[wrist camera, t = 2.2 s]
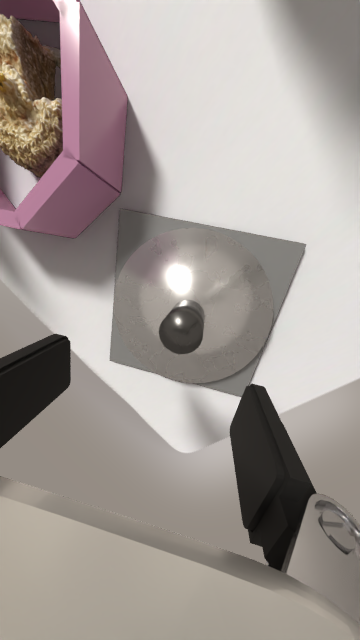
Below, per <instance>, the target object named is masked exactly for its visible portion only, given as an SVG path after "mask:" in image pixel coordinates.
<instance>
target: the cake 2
mask: <svg viewBox="0 0 360 640" xmlns="http://www.w3.org/2000/svg"><path fill="white" fill-rule="evenodd" d="M56 66H58V67H59V68H60V69H61V51H60V50H59V49H58V48H56V47H50V46H47V45H46V46H42V45H41V44H40V41H39V39H38V37H37V35H36V36H34V38H33V37H32V35H31V33H30V32H29V31H26V29H25V28H24V27H23V25H22V24H21V23H20V22H19V21H18V20H17V19H16V18H15V17H14V16H11V17H10V19H7V18H6V17H5V16H4V15H3V14H0V148H1V150H2V151H3V152H4V154H5V155H9V156H10V158H11V159H12V160H14V162H15V163H16V164H18V165H21V167H24V169H27V170H30V171H31V172H33V173H34V174H35V175H36V176H37V177H40V178H42V176H43V175H44V174H45V173H46V171H47V170H48V169H49V168H50V166H51V165H52V164H53V162H54V161H55V160H56V159H57V157H58V156H59V155H60V154H61V152H62V151H63V125H62V100H61V99H59V98H56V100H54V96H55V94H54V86H55V81H54V80H55V68H56Z"/></svg>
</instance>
